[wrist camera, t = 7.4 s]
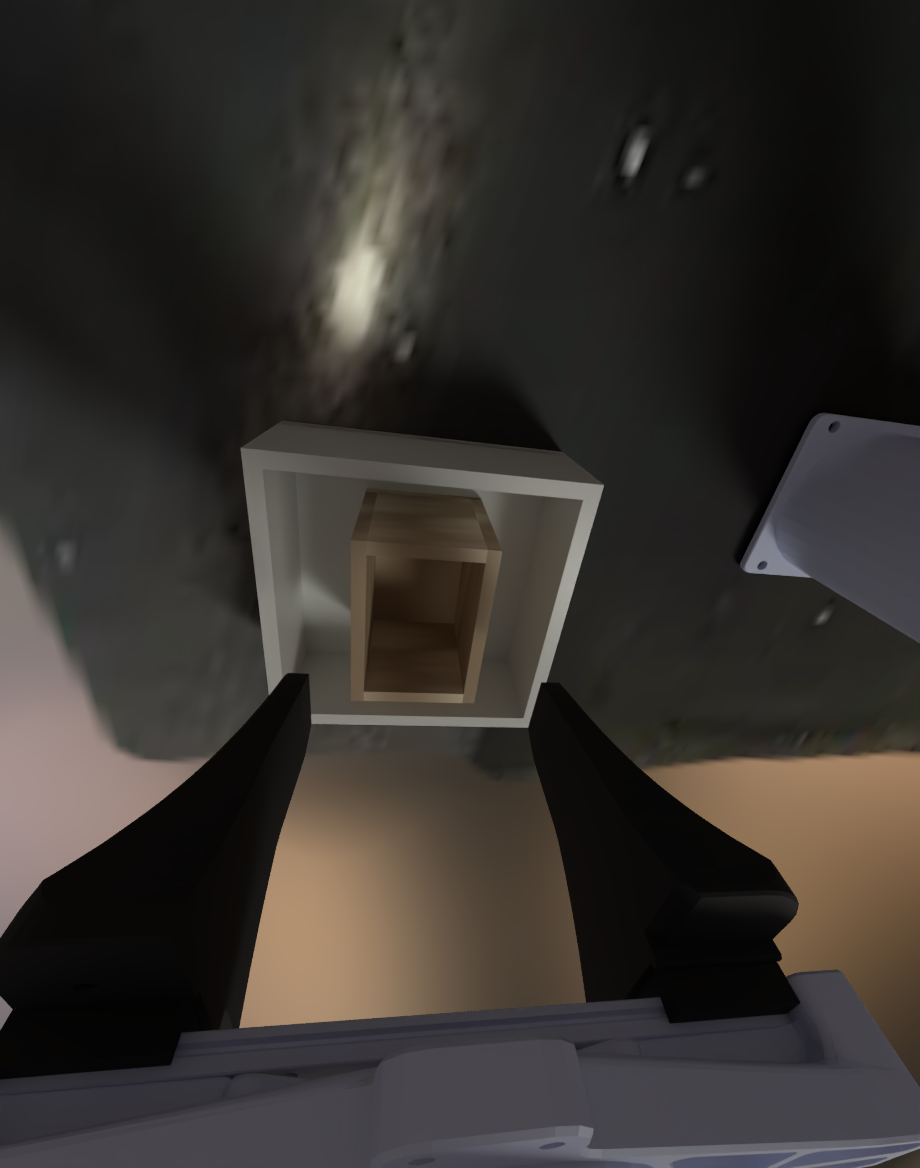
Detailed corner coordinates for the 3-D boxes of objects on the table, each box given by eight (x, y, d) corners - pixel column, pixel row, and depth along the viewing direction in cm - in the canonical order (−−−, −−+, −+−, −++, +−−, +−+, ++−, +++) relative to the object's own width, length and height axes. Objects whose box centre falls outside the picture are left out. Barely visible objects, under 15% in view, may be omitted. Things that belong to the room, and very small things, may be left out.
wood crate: (480, 497, 19) (502, 551, 15) (461, 626, 23) (474, 703, 18) (366, 488, 19) (350, 540, 14) (364, 621, 22) (350, 700, 17)
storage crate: (562, 451, 20) (604, 485, 15) (512, 660, 25) (533, 727, 21) (282, 420, 18) (240, 448, 14) (298, 651, 24) (272, 722, 19)
